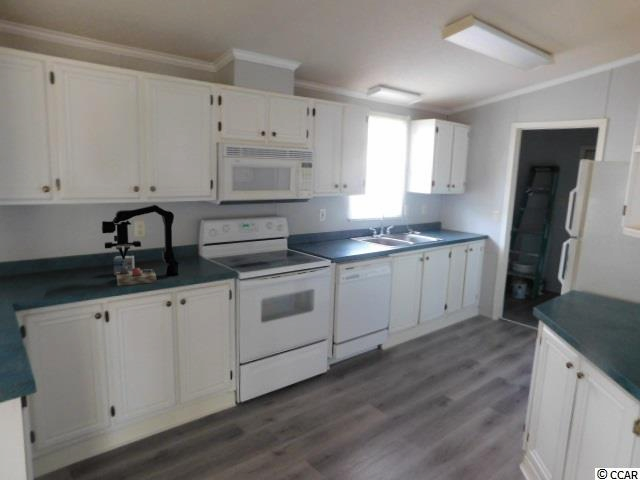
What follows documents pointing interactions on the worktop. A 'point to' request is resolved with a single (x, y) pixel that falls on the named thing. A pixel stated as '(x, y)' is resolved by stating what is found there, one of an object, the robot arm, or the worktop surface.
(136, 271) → the red plug
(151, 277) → the plug board
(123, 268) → the grey plug
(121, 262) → the light bulb box
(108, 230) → the robot arm
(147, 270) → the grey plug
